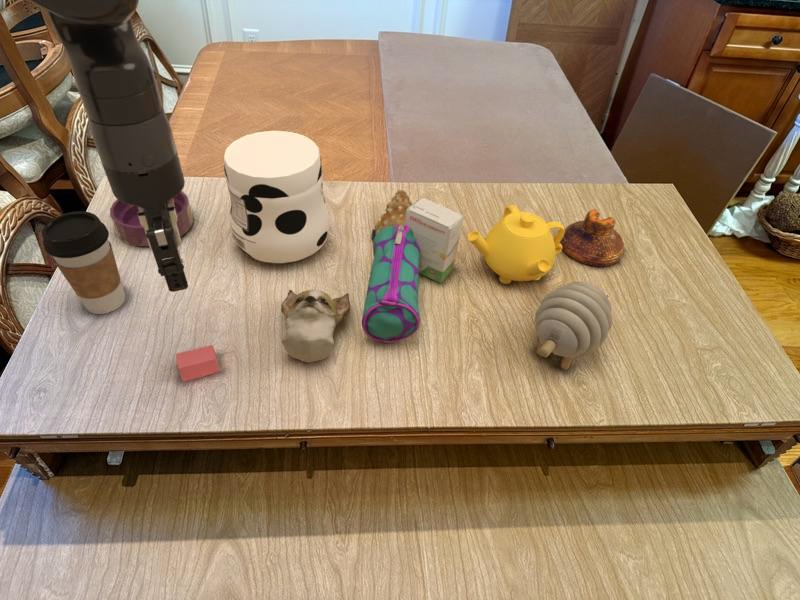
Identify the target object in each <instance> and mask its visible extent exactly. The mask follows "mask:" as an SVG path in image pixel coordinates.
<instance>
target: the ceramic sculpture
mask: <svg viewBox="0 0 800 600" xmlns="http://www.w3.org/2000/svg"><path fill="white" fill-rule="evenodd" d="M280 307H281V309H280V311H281V313H282V315H283V316H284V318H286V321H285V326H286V332H285V334H284V335H283V337H282V338H281V344H282V346H283V348H284V351H285V352H286V353H287V354H288V355H289V356H290V357H292V358H293V359H296V360H299V361H302V362H304V363H312V362H313V363H314V362H316V361H321V360H325V359H327V358H328V357H329V356H330V355H331V353H332V352H333V350H334V347H335V341H334V339H333V337H334V331H335V329H336V325H338V324H339V323H341V322H342V321H343V320H344V319H345V318H346V317H347V316H348V314H349V313H350V311H351V302H350V294H349V292H347V293H345V294H344V295H342V296H340V297H336V298H333V299H332V297H331V296H330V295H329V294H327V293H326V292H325V291H322V290H319V289H309V290H304V291H301V292H299V293H298V294H295V293H294V291H293V290H291V289H289V290H288V293H287V296H286V298H285V299H284V301H283V302H282V303H281V305H280Z"/></svg>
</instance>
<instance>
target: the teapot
mask: <svg viewBox="0 0 800 600" xmlns="http://www.w3.org/2000/svg"><path fill="white" fill-rule="evenodd" d="M502 214H503V215H502V218H501V219H500V220H499V221H497V222H496V223H495V224H494V225H493V226H492V227H491V228H490V229H489V231H488V233H487V235H486V237H485V238H484V237H483V236H482V234H481V233H480V232H479V231H477V230H472V231H470V232H469V233H468V235H467V240H468V242H470V243H471V244H472V245H473V247H475V249H476V250H478V252H479V253H481V255H482V257H483V259H484V262H485V263H486V264H487V266H488V267H489V268H490V269H491V270H492V271H493V272H494V273H495V274H497V275H498V276H499V277H498V281H500V283H502V284H505V285H506V284H507V285H509V284H510V283H511V282H512V281H514V282H530V281H539V280H540V279H541V277H544V276H545V275H547V274H548V273H549V272H550V271H551V270H552V269H553V268H554V264H555V262H556V255H558V254H560V253H561V252H562V251H563V249H562V245H561V239H562V238H563V236H564V233H565V229H566V228H565V226H564V225H563V224H562V223H561V222H559V221H549V222H546V221H545V220H544V219H543V218H542V217H540V216H539V215H537V214H534V213H532V212H527V211H520V209H519V207H518V206H517V205H514V204H509V205H506V206H505V207H504V210H503V213H502ZM552 229H558V231H557V233H556V235H555V236H553V233H552V231H551V230H552Z"/></svg>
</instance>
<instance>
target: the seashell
mask: <svg viewBox="0 0 800 600" xmlns="http://www.w3.org/2000/svg"><path fill="white" fill-rule="evenodd" d="M412 204H413V202H412V201H411V200H410V197H409V195H408V194H407V192H406V191H405V190H404V189H398V190H397V191H396V192H395V194H394V196H392V198H391V200H390V202H388V203H386V208H385V209H384V211H385V213H382V214H381V216H380V220H378V221H377V222H376V223H375V224H374V230H375V231H377V233H378V232H379V231H380V230H382V229H383V228H385V227H387V226H394V225H396V226H398V225H403V226H405V218H406V210H407V208H408V207H409V206H411V205H412Z"/></svg>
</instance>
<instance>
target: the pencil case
mask: <svg viewBox="0 0 800 600" xmlns="http://www.w3.org/2000/svg"><path fill="white" fill-rule="evenodd" d="M370 234H371V235H370V239H371V242H372V253H373V260H372V264H371V268H370V272H369V279H368V284H367V289H366V295H365V301H364V306H363V310H362V318H361V327H362V330H363V332H364V334H365V335H366V336H367V337H368V338H369V339H370V340H373V341H375V342H378V343H381V344H382V343H383V344H393V343H397V342H400V341H402V340H405V339H407V338H409V337H411V336H412V335H414V334H416V332H417V331H418V329H419V328H420V324H421V317H420V307H419V288H420V287H419V286H420V279H419V275H420V273H419V266H420V254H421V253H420V248H419V246H418V244H417V242H416V239H415V237H414V234H413V231H412V229H411V228H410V227H408V226H407V225H405V226H403V225H398V226H396V225H394V226H387V227H385V228H383V229H382V230H380V231H379V232H378V233H377V231H375V228H373V229H372V231H371V233H370Z"/></svg>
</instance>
